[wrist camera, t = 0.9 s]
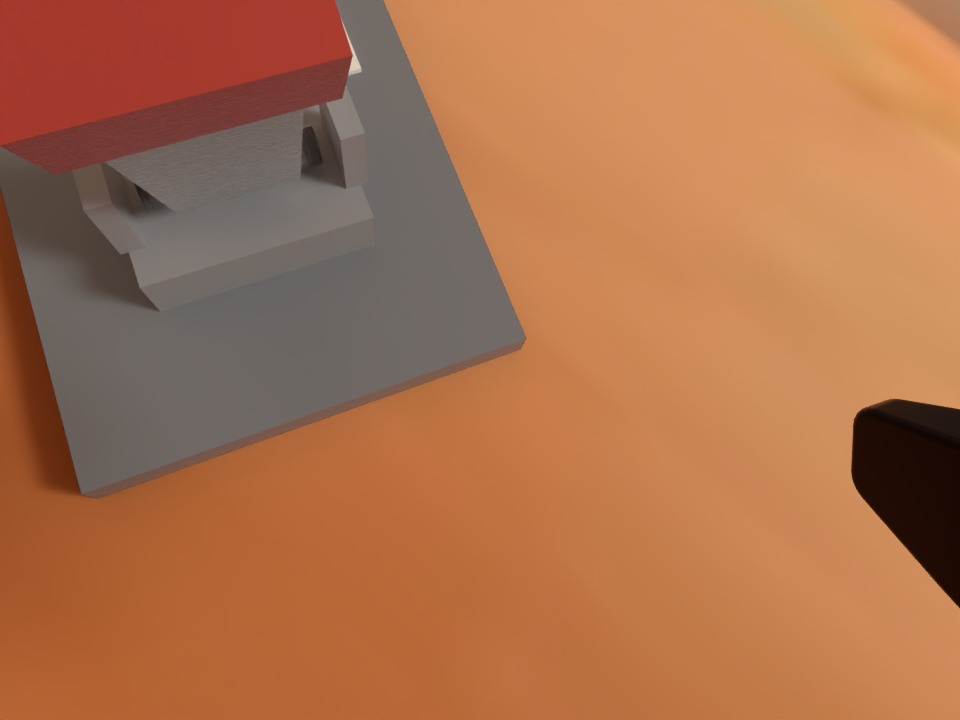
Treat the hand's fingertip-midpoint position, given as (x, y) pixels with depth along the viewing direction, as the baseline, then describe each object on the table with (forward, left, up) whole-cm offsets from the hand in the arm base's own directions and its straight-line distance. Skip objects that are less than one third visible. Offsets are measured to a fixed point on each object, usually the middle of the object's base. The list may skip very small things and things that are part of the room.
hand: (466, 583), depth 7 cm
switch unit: (+11, +7, -13) cm, 18 cm away
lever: (+9, +6, -10) cm, 15 cm away
